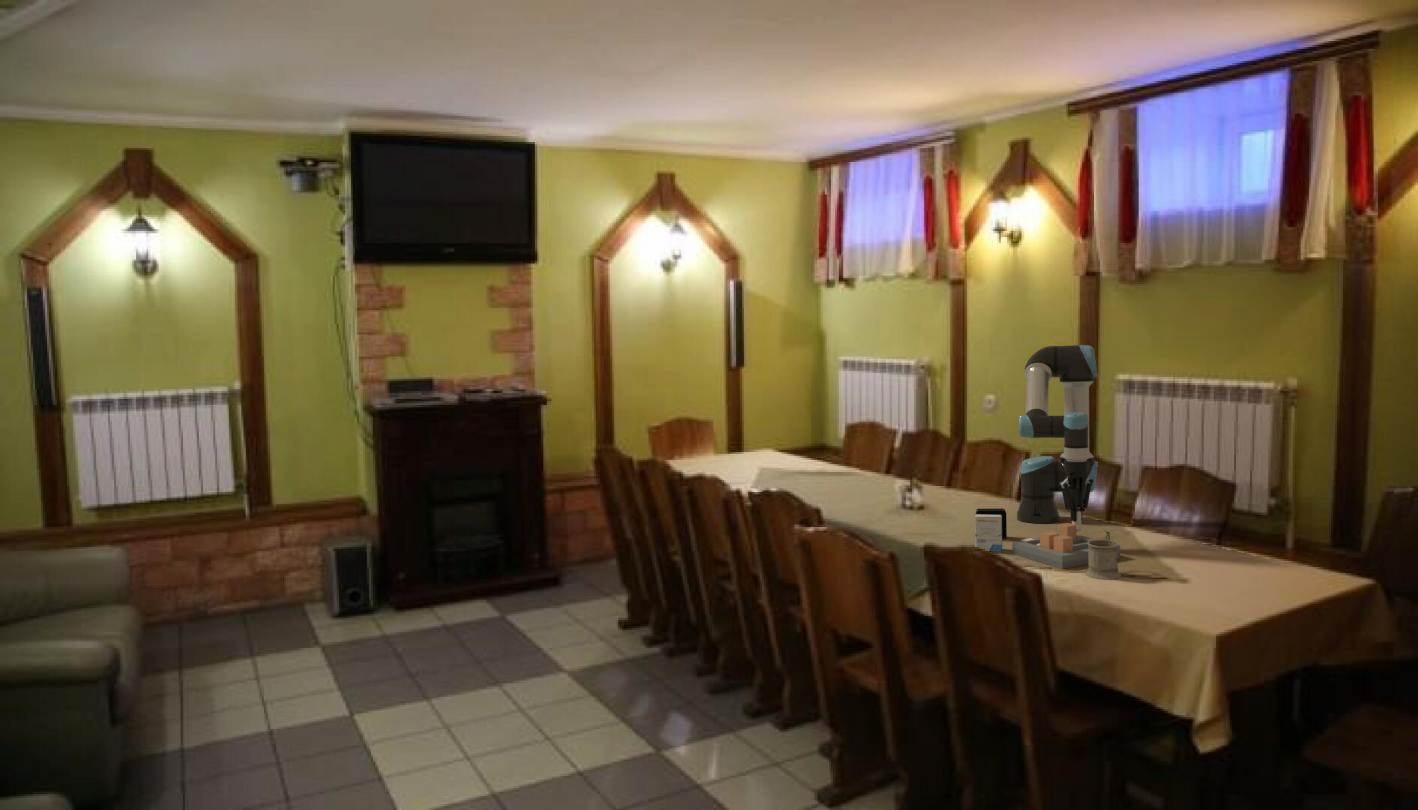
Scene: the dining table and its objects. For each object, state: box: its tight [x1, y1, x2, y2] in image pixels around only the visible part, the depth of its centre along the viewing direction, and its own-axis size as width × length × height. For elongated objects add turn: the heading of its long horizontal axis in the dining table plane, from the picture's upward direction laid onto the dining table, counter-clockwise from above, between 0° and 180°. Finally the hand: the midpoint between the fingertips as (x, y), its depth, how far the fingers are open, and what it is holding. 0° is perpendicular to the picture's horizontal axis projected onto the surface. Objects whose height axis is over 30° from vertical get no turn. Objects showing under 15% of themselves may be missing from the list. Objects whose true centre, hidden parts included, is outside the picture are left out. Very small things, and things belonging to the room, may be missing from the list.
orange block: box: [1054, 535, 1073, 553], centre depth 309 cm, size 4×4×6 cm
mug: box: [1085, 529, 1122, 581], centre depth 296 cm, size 14×10×12 cm
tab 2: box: [1057, 522, 1078, 539], centre depth 325 cm, size 4×4×6 cm
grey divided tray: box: [1011, 534, 1121, 570], centre depth 317 cm, size 24×22×4 cm
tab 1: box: [1039, 531, 1059, 549], centre depth 314 cm, size 4×4×6 cm
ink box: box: [974, 513, 1003, 553], centre depth 328 cm, size 9×5×12 cm, turn 71°
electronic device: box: [975, 507, 1008, 540], centre depth 345 cm, size 4×10×10 cm, turn 78°
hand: (1076, 530), depth 327 cm, fingers closed
